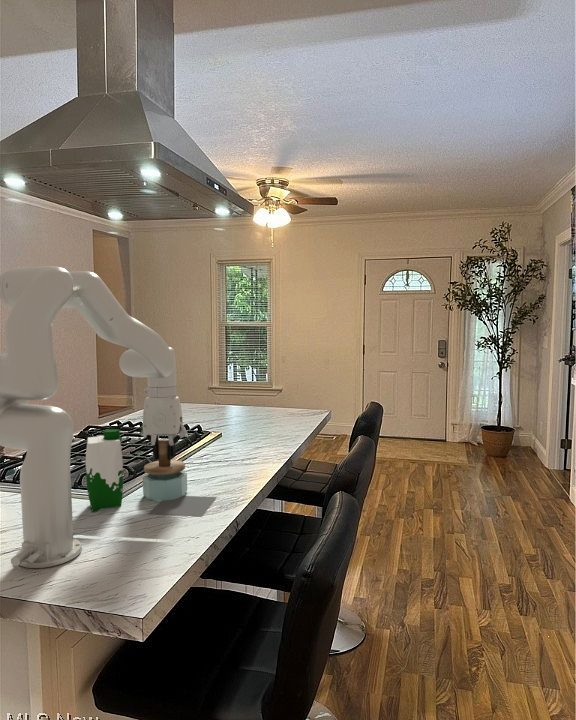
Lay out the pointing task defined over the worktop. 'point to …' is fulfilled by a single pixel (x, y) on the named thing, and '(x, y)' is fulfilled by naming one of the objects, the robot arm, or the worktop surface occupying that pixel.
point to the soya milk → (104, 470)
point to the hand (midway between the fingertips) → (164, 457)
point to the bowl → (165, 486)
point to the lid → (164, 462)
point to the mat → (184, 506)
